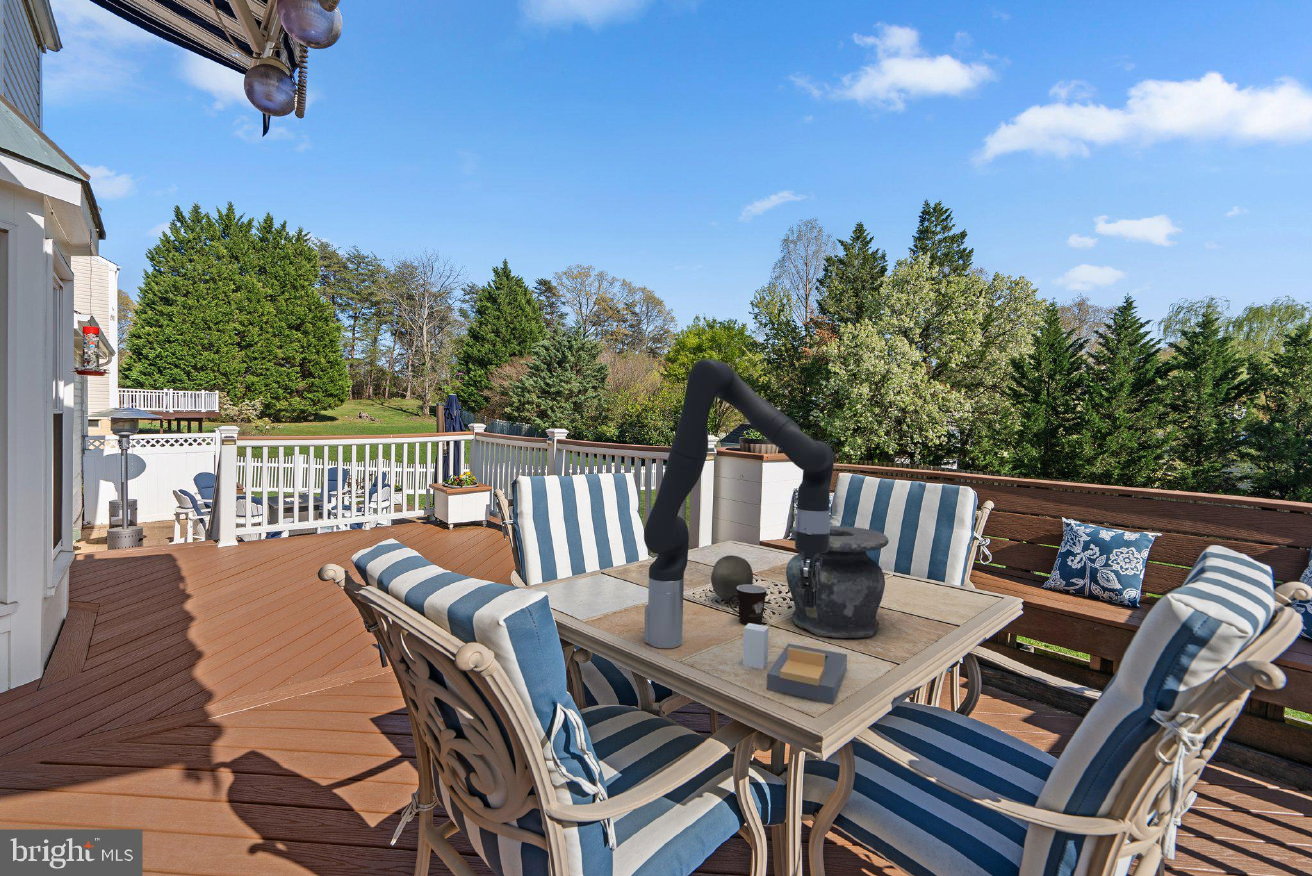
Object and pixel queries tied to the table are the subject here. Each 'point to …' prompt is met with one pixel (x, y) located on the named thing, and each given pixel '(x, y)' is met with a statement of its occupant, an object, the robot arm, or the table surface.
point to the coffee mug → (750, 603)
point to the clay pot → (842, 585)
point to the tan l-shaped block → (803, 666)
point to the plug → (755, 646)
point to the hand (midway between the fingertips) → (810, 605)
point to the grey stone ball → (730, 576)
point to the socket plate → (822, 692)
